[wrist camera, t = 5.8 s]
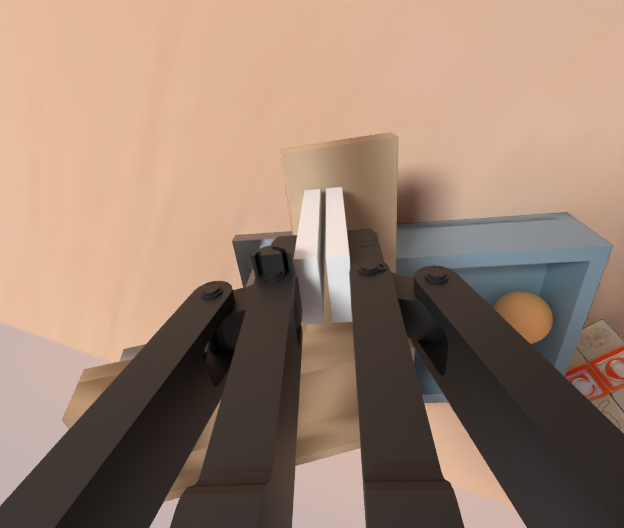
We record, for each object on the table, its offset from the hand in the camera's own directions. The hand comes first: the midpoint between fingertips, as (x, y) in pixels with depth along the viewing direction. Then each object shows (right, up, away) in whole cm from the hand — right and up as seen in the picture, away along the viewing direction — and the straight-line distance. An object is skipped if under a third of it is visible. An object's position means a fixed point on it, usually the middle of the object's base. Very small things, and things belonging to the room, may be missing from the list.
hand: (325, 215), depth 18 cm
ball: (+15, -6, +10) cm, 19 cm away
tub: (+12, -5, +13) cm, 18 cm away
